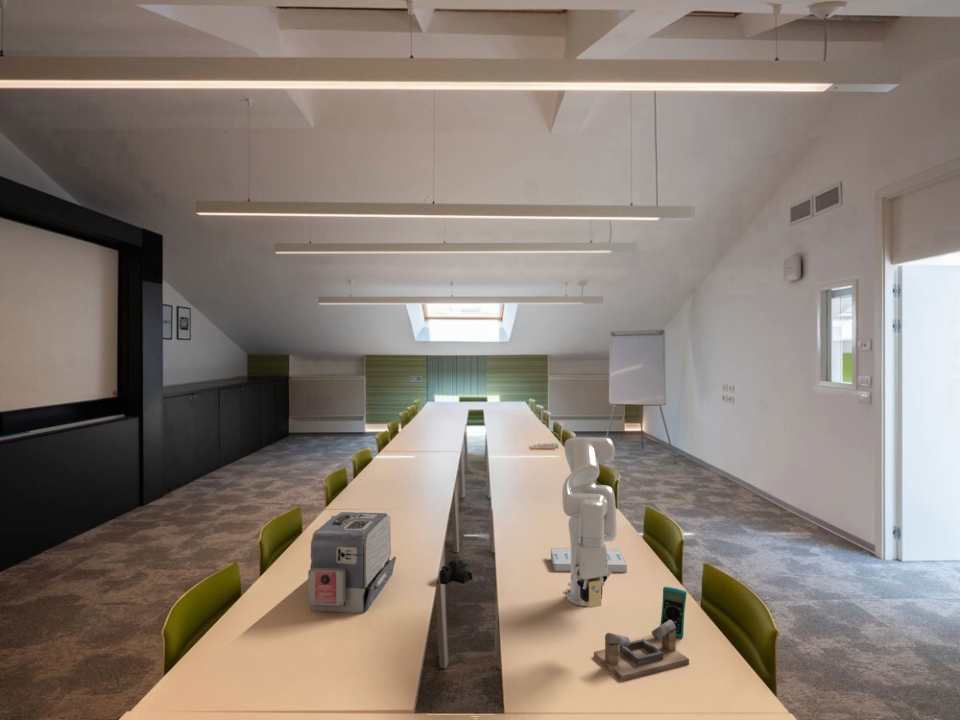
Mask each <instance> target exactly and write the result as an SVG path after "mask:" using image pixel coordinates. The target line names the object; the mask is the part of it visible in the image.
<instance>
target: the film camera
mask: <svg viewBox="0 0 960 720" xmlns="http://www.w3.org/2000/svg"><path fill="white" fill-rule="evenodd" d="M467 566H469V564H467V563H465V562H463V560H461V559H459V560H455V559H452V560H449V563H447V564H445V565H443V566H442V567H441V570H439V584H441V585H449V583H452V582H455V583H459V584H462V585H465V583H467V582H469V581H471V580H473V572H471V571H470V570H466V567H467Z"/></svg>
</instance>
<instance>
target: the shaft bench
mask: <svg viewBox="0 0 960 720" xmlns="http://www.w3.org/2000/svg"><path fill="white" fill-rule="evenodd" d="M675 628H676V626H675V624H674V622H673V621H672V620H668V621H667V622H665V623H664V624H662V625H661V626H660V625H659V626H658V627H656V628H654V629H653V630H651V635H652V636H653V638H649V639H644V638H642V639H638V640H634V641H631V640H630V638H629V636H625V635H620V634H617V633H611V632H606V634H605V635H604V639H605V640H604V649H601V650H596V651H593V657H594V658H595V659H596V660H597V661H598V662H599V663H600V664H602V665H603V666H604V667H605V668H606V669H607V670H609V671H610V672H611V673H612V674H613V675H615V677H616V678H618V679H619V680H620V681H621V682H624V681H628V680H632V679H636V678H640V677H643V676H647V675H652V674H655V673H659V672H662V671H667V670H671V669H674V668H675V669H676V668H679V667H682V666H686V665H690V659H689V658H688V657H687V656H686V655H684V654H683V653H681V652H680V651H679V650H677V649H676V646H677V644H676V638H677V637H676V632H675V631H674V630H673V629H675Z"/></svg>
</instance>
